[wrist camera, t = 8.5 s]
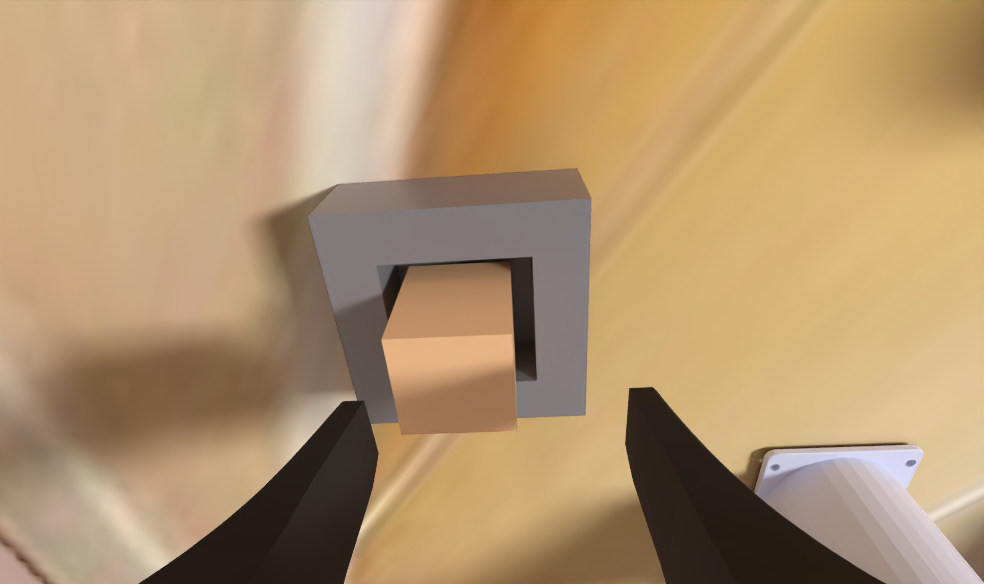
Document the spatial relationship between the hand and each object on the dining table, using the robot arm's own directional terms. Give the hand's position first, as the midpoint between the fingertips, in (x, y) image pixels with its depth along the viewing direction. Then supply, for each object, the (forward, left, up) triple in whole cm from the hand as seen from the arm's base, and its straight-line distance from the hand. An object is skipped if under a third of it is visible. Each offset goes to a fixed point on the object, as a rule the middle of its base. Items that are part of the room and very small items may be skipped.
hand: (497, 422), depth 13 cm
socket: (-1, +2, -9) cm, 10 cm away
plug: (-1, +2, -8) cm, 9 cm away
